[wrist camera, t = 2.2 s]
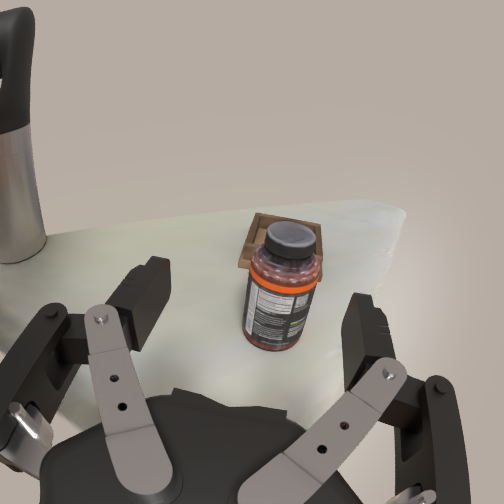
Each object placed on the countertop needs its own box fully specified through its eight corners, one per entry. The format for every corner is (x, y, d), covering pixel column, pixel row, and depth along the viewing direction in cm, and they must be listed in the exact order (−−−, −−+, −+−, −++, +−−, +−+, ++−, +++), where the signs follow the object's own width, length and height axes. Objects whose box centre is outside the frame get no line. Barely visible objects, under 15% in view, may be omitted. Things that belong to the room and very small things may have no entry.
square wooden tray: (238, 266, 40) (240, 246, 38) (251, 228, 49) (253, 210, 47) (320, 281, 39) (326, 262, 38) (318, 240, 48) (322, 223, 46)
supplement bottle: (259, 303, 35) (276, 208, 29) (309, 325, 32) (338, 230, 26) (229, 335, 30) (240, 232, 24) (284, 363, 28) (314, 262, 22)
